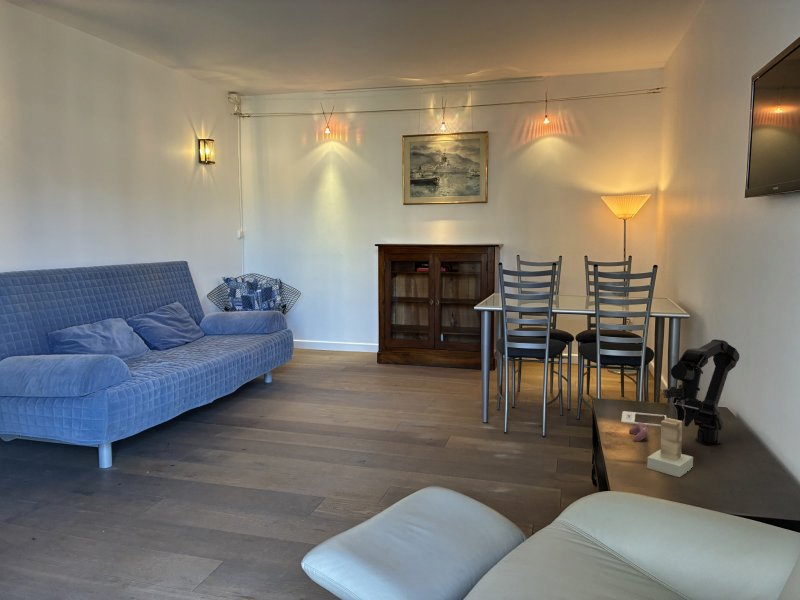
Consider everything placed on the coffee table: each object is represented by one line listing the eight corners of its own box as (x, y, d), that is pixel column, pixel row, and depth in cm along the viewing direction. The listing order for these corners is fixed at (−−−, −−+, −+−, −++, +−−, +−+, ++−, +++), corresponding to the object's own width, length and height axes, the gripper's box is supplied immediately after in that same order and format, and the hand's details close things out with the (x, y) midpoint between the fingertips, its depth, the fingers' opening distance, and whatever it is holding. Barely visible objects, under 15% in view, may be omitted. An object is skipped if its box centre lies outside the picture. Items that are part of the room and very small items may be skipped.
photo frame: (622, 410, 260) (666, 414, 253) (622, 413, 261) (666, 417, 253) (621, 420, 247) (666, 425, 240) (621, 423, 247) (666, 428, 240)
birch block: (666, 453, 203) (667, 417, 201) (681, 457, 199) (682, 421, 198) (660, 457, 200) (661, 421, 198) (674, 461, 196) (676, 424, 194)
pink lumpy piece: (643, 446, 224) (652, 431, 223) (632, 440, 225) (641, 425, 223) (637, 437, 234) (646, 422, 233) (627, 431, 234) (635, 417, 233)
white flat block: (661, 459, 208) (661, 448, 207) (692, 467, 199) (693, 456, 199) (647, 468, 200) (647, 457, 200) (679, 477, 192) (679, 466, 192)
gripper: (661, 378, 221) (653, 417, 220) (673, 378, 203) (665, 422, 202) (691, 385, 218) (684, 425, 217) (707, 386, 200) (699, 430, 199)
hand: (682, 425), depth 209 cm, fingers open, 9 cm apart
